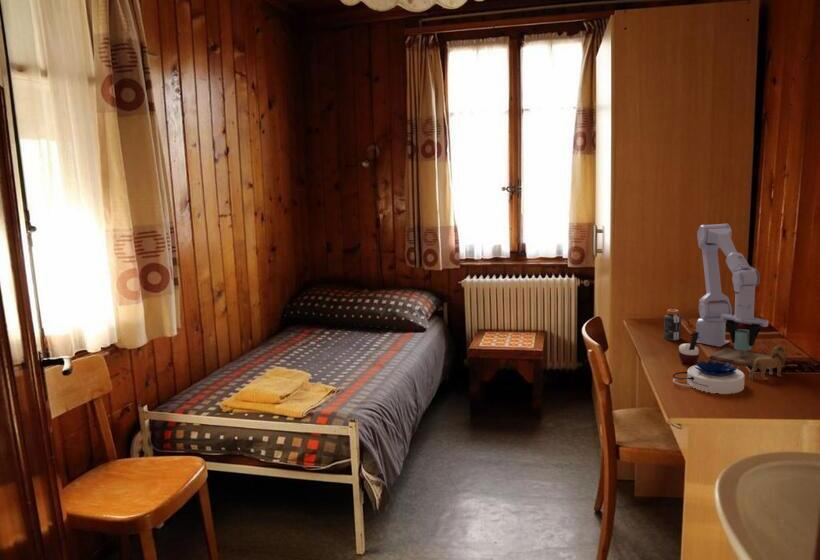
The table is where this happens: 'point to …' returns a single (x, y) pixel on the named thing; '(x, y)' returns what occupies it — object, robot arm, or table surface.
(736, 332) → the grey-green cylinder
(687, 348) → the cocoa
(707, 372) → the white round gift box
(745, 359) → the roll stand
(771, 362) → the lion figurine
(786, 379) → the table surface
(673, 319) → the pill bottle
